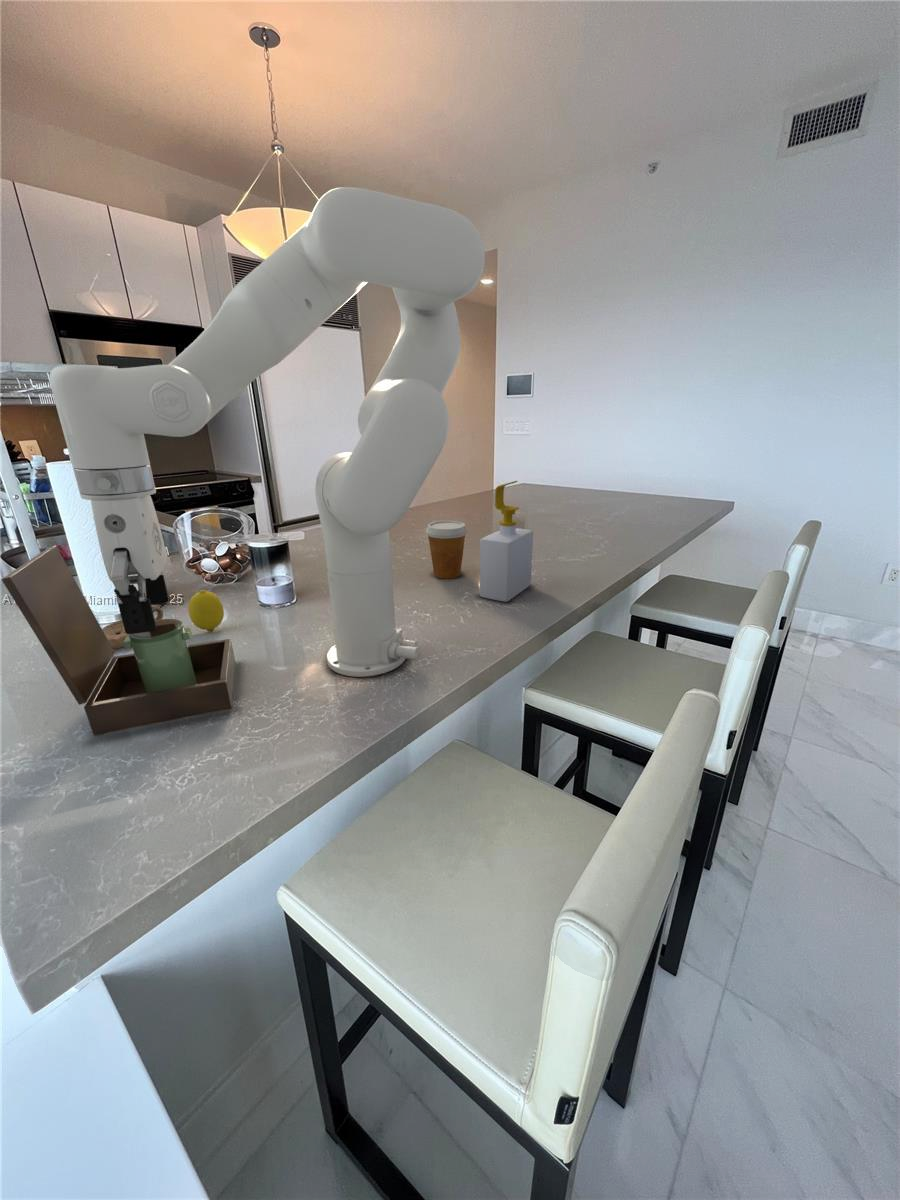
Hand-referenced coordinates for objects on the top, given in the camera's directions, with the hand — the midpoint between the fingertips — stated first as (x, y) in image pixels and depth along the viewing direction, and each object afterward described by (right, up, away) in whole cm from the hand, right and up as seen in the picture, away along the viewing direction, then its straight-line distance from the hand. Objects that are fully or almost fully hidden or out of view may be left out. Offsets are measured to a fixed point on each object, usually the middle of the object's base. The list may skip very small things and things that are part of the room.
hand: (149, 616), depth 63 cm
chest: (+1, -12, +5) cm, 13 cm away
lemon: (-4, -4, +25) cm, 26 cm away
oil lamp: (-16, -5, +21) cm, 28 cm away
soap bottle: (+51, +4, +42) cm, 66 cm away
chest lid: (-8, 0, -3) cm, 8 cm away
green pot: (+1, -11, +4) cm, 12 cm away
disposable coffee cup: (+38, +8, +53) cm, 66 cm away
